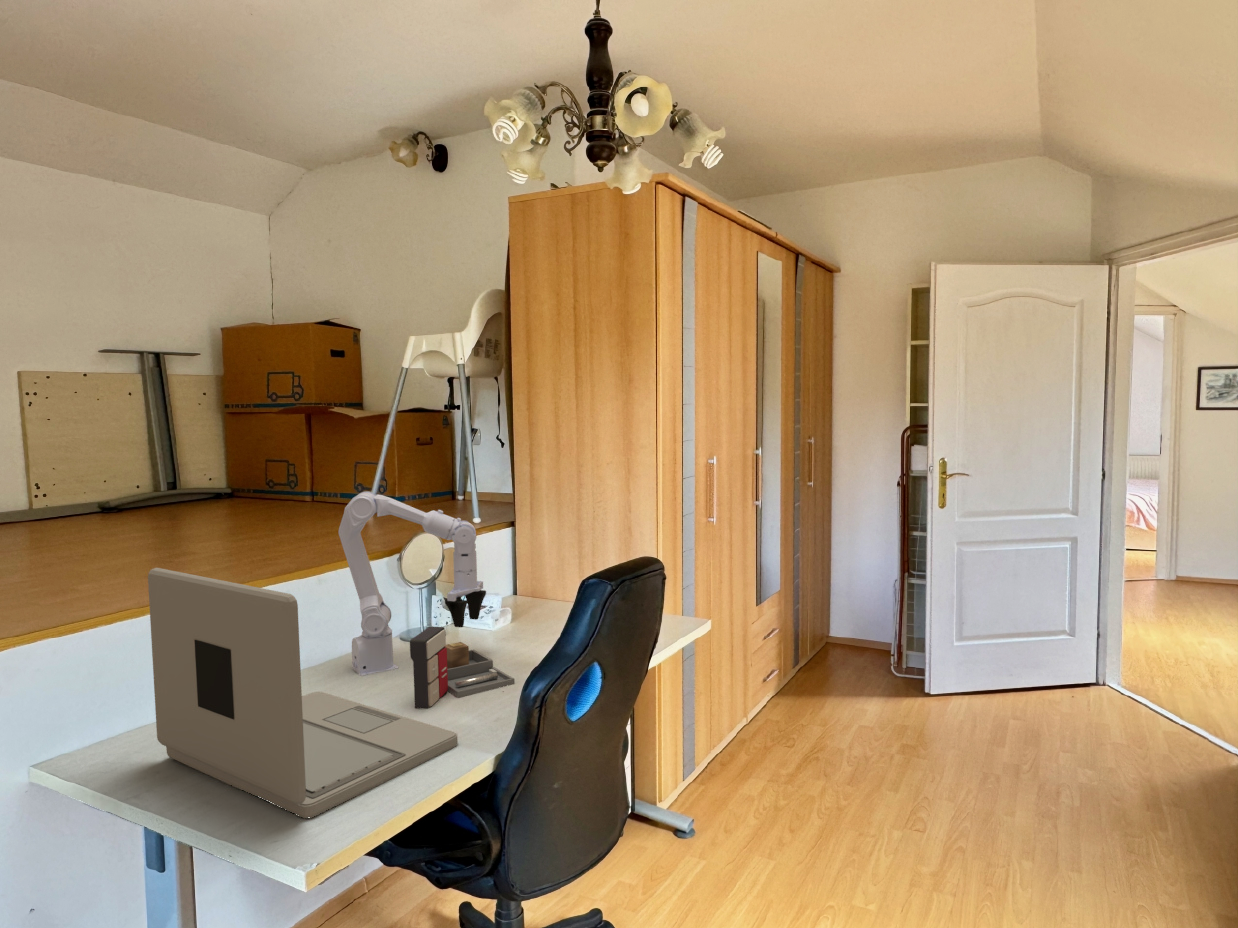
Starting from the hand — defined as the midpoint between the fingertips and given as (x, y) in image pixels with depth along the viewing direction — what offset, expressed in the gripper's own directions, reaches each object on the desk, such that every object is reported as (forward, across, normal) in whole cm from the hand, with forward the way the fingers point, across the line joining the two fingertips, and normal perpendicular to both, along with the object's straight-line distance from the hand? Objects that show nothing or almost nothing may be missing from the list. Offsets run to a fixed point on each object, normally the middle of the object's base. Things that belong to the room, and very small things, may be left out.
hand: (466, 622), depth 200 cm
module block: (+9, -9, -2) cm, 13 cm away
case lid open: (+10, -16, -11) cm, 21 cm away
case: (+10, -9, -2) cm, 13 cm away
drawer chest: (+10, -27, -6) cm, 29 cm away
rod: (+9, -16, -11) cm, 21 cm away
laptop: (+10, -57, +1) cm, 58 cm away
